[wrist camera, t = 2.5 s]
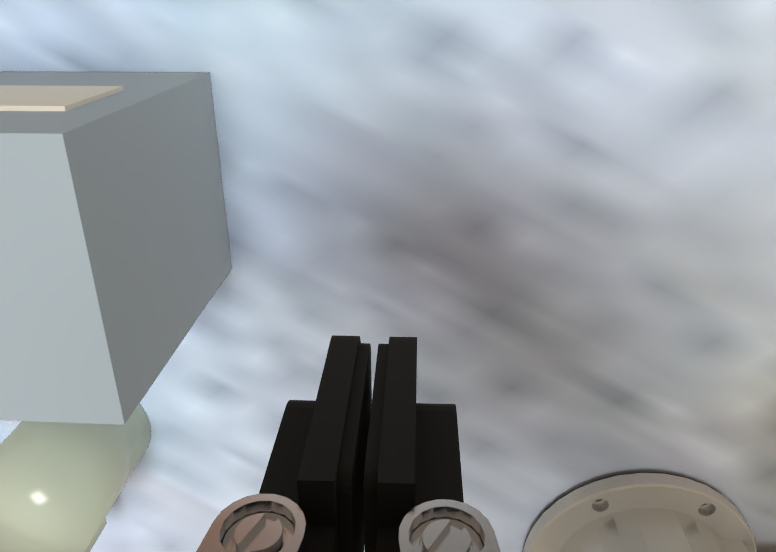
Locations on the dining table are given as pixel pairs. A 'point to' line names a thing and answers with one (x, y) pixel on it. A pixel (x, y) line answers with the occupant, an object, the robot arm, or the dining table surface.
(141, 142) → the grey box
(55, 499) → the sage mug
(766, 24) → the dining table surface
